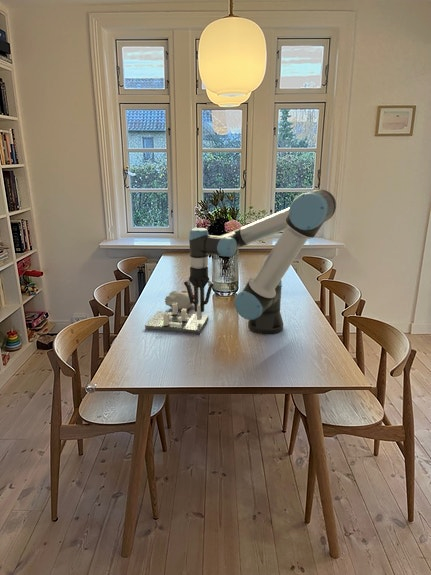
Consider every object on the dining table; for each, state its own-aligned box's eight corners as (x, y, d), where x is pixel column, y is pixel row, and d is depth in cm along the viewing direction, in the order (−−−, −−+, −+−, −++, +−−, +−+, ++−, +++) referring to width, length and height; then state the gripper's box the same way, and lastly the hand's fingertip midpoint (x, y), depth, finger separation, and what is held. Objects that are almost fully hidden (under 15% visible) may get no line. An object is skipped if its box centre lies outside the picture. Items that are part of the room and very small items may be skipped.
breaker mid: (187, 318, 175) (186, 308, 173) (185, 321, 173) (185, 310, 171) (183, 318, 175) (182, 308, 174) (181, 320, 173) (181, 310, 171)
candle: (163, 309, 191) (185, 303, 202) (180, 314, 184) (201, 309, 196) (164, 290, 189) (186, 286, 200) (181, 295, 182) (203, 291, 194)
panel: (208, 319, 180) (208, 315, 180) (199, 334, 166) (199, 330, 165) (158, 315, 185) (157, 310, 184) (145, 329, 170) (145, 324, 170)
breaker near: (169, 323, 171) (169, 312, 169) (167, 325, 168) (167, 314, 167) (165, 322, 171) (165, 312, 169) (163, 325, 169) (163, 314, 167)
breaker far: (177, 312, 182) (177, 302, 180) (176, 314, 179) (175, 304, 178) (174, 312, 182) (173, 302, 180) (172, 314, 180) (172, 304, 178)
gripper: (216, 264, 167) (216, 316, 174) (186, 262, 169) (187, 313, 177) (212, 269, 160) (212, 323, 168) (181, 267, 162) (182, 320, 170)
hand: (199, 318), depth 172 cm, fingers closed
